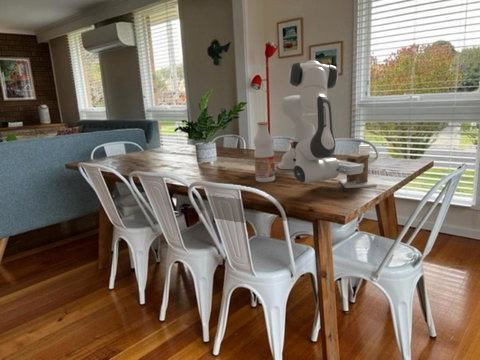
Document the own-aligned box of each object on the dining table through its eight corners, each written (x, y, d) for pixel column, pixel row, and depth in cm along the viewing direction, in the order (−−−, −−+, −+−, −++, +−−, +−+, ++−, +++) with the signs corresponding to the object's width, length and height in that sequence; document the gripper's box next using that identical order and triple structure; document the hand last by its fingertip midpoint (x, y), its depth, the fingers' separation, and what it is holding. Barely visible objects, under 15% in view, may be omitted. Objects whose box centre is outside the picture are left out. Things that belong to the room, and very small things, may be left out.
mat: (345, 188, 154) (345, 185, 154) (339, 181, 166) (339, 179, 166) (376, 186, 153) (376, 184, 153) (368, 179, 165) (368, 177, 165)
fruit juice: (253, 179, 180) (250, 122, 174) (271, 177, 182) (269, 121, 176) (258, 183, 171) (255, 123, 165) (277, 181, 173) (275, 122, 167)
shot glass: (356, 155, 225) (356, 144, 223) (367, 155, 225) (367, 143, 223) (361, 157, 218) (361, 146, 216) (372, 156, 218) (372, 145, 217)
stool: (356, 184, 155) (357, 156, 152) (345, 181, 161) (345, 154, 158) (368, 181, 158) (369, 154, 155) (357, 178, 164) (357, 152, 161)
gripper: (347, 164, 141) (373, 159, 147) (314, 157, 159) (338, 153, 165) (347, 180, 142) (373, 174, 148) (314, 172, 160) (338, 167, 166)
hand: (354, 163), depth 157 cm, fingers open, 8 cm apart
